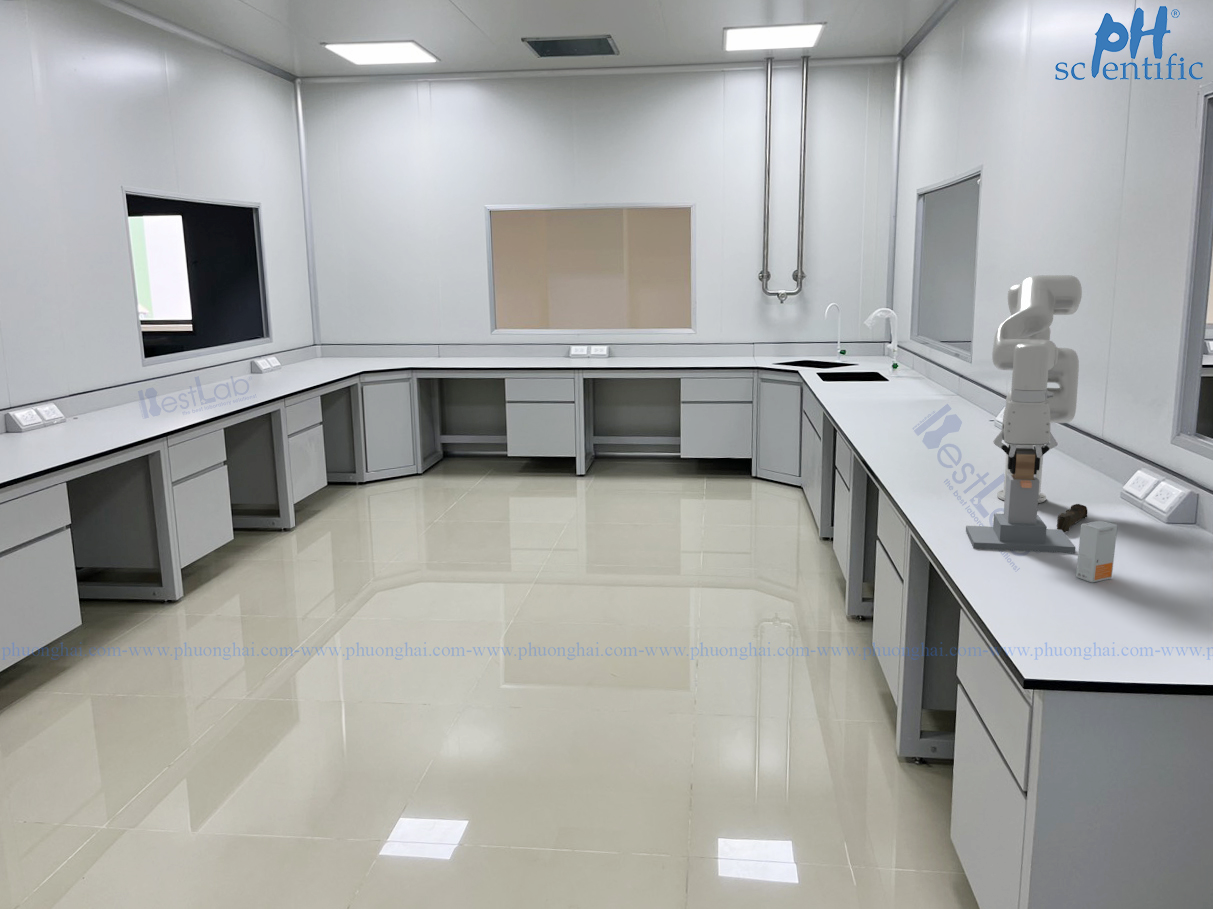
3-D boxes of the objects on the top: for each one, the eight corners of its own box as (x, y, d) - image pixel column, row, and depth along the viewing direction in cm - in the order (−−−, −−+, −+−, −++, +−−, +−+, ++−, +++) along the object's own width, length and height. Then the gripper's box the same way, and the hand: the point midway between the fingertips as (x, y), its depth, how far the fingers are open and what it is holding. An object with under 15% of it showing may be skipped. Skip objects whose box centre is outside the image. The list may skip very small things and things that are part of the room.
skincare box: (1092, 583, 193) (1097, 528, 191) (1075, 577, 197) (1080, 523, 195) (1113, 579, 196) (1118, 524, 193) (1095, 573, 200) (1100, 519, 197)
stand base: (965, 531, 231) (969, 469, 228) (1061, 535, 226) (1066, 472, 223) (973, 548, 218) (977, 482, 215) (1074, 553, 213) (1080, 486, 209)
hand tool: (1070, 517, 242) (1072, 500, 241) (1087, 519, 239) (1088, 502, 238) (1046, 534, 229) (1047, 516, 228) (1063, 536, 226) (1064, 518, 225)
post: (1009, 515, 223) (1013, 447, 220) (1027, 516, 222) (1032, 447, 219) (1012, 519, 219) (1016, 451, 216) (1030, 520, 218) (1035, 451, 215)
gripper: (1063, 394, 216) (1057, 470, 220) (987, 393, 220) (982, 468, 224) (1071, 399, 209) (1065, 477, 213) (992, 398, 213) (987, 475, 217)
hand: (1023, 472), depth 218 cm, fingers closed on post, 4 cm apart
